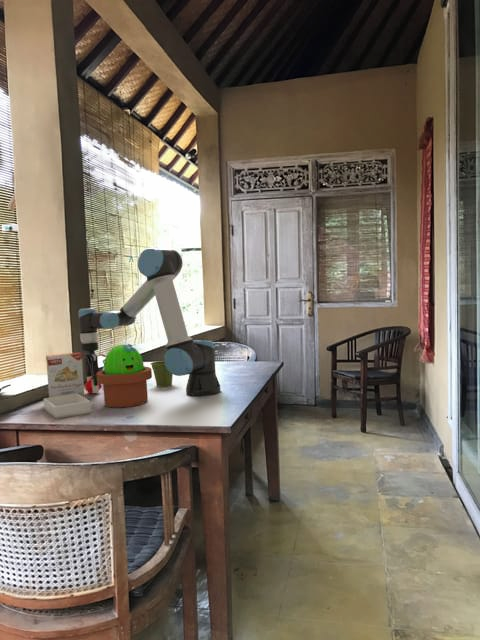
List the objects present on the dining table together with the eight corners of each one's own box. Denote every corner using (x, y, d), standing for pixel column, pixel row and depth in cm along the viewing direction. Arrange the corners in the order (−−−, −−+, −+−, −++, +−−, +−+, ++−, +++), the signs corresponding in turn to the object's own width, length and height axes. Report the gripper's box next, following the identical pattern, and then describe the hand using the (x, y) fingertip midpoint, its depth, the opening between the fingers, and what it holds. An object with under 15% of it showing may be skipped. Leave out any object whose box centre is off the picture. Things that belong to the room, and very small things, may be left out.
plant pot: (178, 382, 247) (177, 359, 246) (173, 387, 235) (171, 363, 235) (155, 383, 248) (154, 360, 248) (148, 388, 237) (147, 364, 236)
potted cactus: (93, 402, 212) (88, 344, 210) (142, 394, 223) (138, 338, 221) (107, 412, 193) (102, 348, 191) (161, 403, 204) (157, 342, 203)
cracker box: (51, 406, 210) (47, 356, 208) (49, 403, 215) (45, 355, 214) (85, 401, 216) (81, 353, 215) (82, 398, 222) (79, 351, 220)
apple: (82, 382, 226) (98, 374, 230) (81, 383, 233) (97, 375, 236) (90, 396, 227) (106, 387, 230) (88, 396, 233) (104, 388, 236)
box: (91, 412, 194) (90, 401, 194) (55, 419, 187) (54, 407, 187) (77, 403, 212) (76, 393, 211) (44, 409, 204) (43, 398, 204)
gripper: (104, 342, 224) (108, 393, 225) (91, 340, 240) (95, 387, 242) (87, 344, 220) (91, 396, 221) (75, 341, 237) (79, 389, 238)
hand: (93, 391), depth 232 cm, fingers closed on apple, 7 cm apart
